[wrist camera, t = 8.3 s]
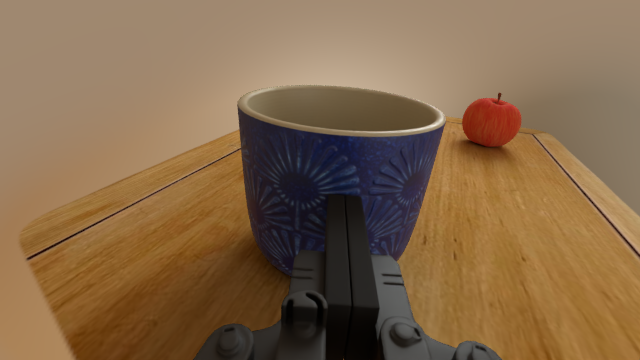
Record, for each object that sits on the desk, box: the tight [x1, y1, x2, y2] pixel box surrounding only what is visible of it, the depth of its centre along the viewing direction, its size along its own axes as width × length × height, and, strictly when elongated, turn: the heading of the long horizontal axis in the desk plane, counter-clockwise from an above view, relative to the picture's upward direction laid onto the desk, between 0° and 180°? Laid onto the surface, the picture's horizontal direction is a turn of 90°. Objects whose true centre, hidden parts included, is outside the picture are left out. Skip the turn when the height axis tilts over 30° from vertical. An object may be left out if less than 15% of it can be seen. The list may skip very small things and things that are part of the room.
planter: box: [237, 85, 446, 276], centre depth 21 cm, size 12×12×11 cm
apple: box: [462, 93, 521, 147], centre depth 48 cm, size 8×8×8 cm
